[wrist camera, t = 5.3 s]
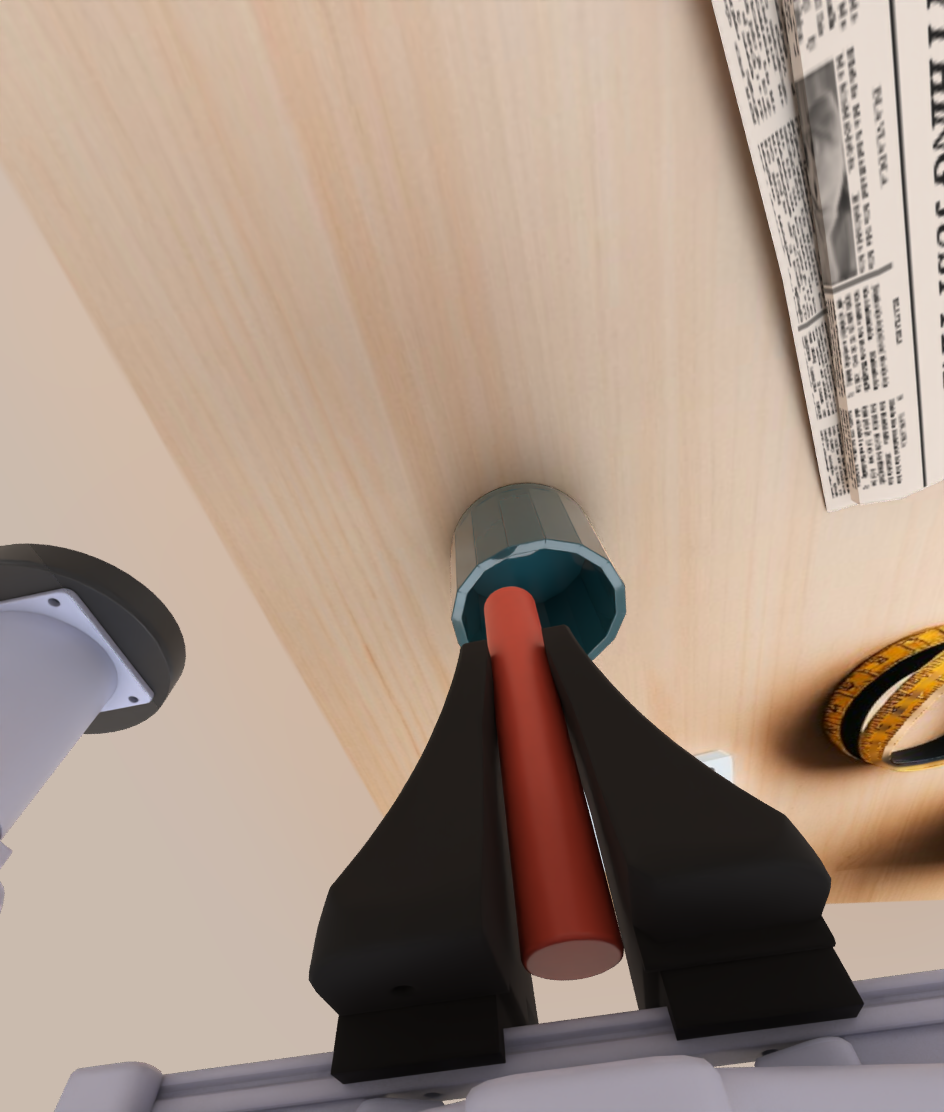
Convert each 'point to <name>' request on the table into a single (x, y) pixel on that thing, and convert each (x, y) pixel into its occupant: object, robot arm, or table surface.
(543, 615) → the cup
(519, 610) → the red wooden dowel
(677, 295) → the table surface
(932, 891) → the table surface
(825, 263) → the newspaper
